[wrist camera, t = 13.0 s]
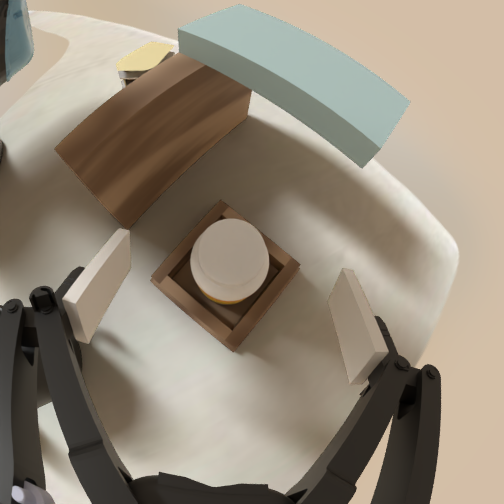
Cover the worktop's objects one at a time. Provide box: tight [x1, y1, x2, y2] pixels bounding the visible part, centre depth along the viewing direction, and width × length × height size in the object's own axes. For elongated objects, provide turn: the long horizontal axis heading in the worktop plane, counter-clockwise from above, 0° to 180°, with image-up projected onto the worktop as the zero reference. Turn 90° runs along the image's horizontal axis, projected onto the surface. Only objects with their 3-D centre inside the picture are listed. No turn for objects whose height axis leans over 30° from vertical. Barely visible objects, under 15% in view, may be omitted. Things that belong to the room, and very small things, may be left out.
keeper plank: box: [178, 4, 410, 168], centre depth 16 cm, size 16×7×2 cm, turn 51°
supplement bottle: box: [190, 219, 269, 305], centre depth 20 cm, size 5×5×10 cm
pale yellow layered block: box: [116, 42, 175, 88], centre depth 28 cm, size 10×9×6 cm
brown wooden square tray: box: [150, 200, 301, 352], centre depth 24 cm, size 10×10×3 cm
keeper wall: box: [55, 53, 252, 230], centre depth 22 cm, size 3×19×12 cm, turn 141°
